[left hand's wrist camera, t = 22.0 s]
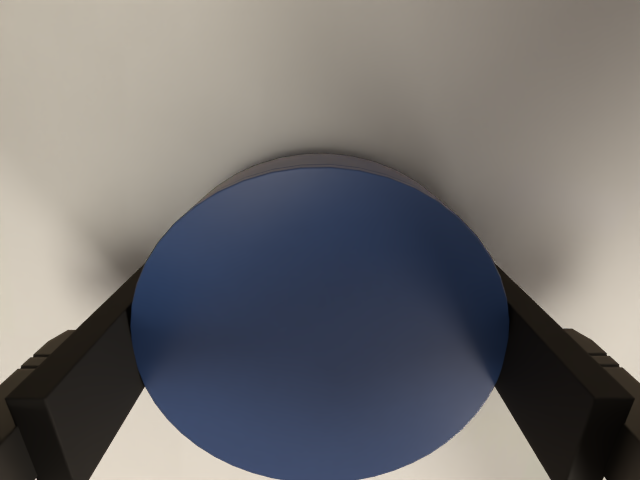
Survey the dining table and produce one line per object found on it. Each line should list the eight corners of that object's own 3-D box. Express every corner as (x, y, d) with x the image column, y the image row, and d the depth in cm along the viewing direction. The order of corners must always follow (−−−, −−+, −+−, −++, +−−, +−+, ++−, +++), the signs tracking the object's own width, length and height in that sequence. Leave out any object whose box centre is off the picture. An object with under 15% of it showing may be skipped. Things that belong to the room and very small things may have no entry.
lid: (141, 144, 10) (98, 156, 8) (511, 161, 10) (556, 177, 8) (177, 424, 14) (153, 479, 12) (448, 433, 14) (469, 488, 12)
